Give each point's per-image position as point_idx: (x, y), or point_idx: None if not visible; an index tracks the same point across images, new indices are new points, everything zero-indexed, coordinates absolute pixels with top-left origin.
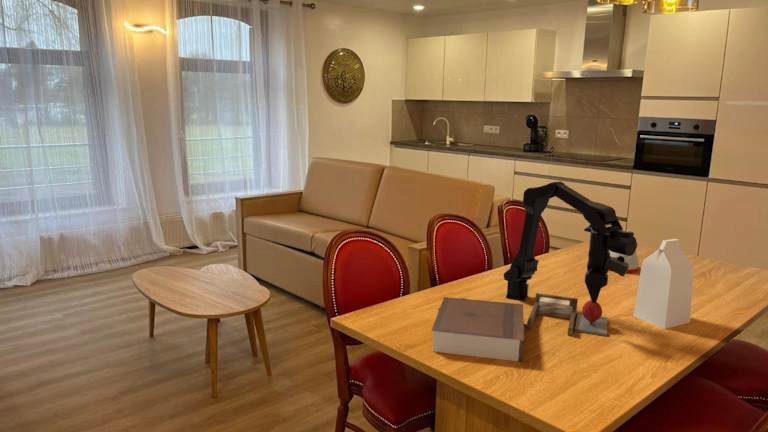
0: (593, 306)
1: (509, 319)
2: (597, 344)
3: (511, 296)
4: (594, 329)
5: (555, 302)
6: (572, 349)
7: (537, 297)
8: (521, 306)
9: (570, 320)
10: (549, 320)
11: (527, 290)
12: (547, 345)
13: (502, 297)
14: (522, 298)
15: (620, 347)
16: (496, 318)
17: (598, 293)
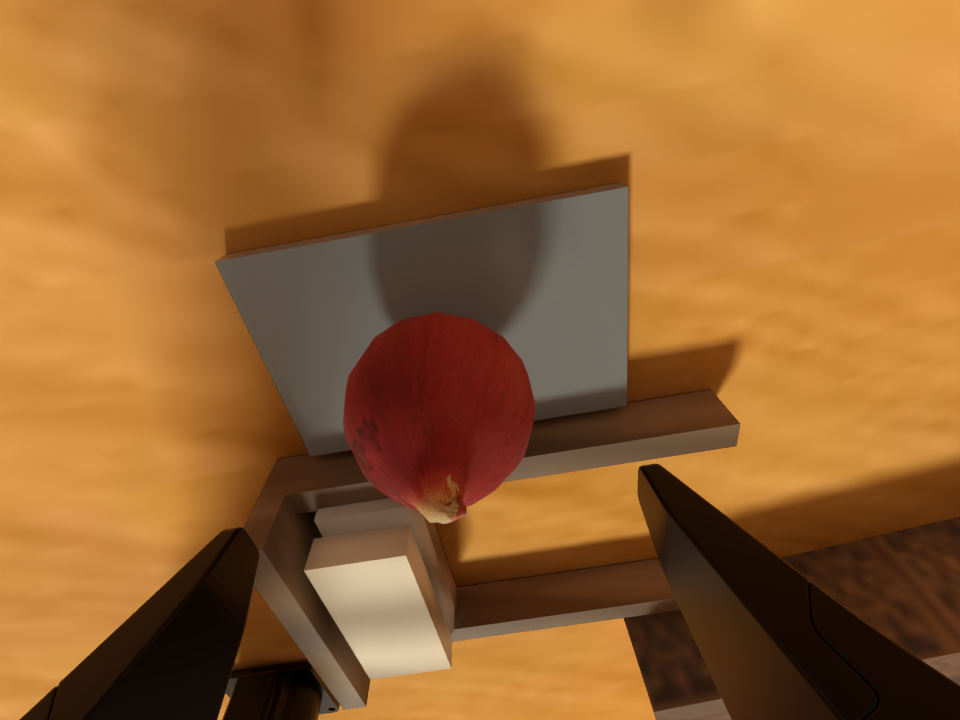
0: (506, 437)
1: None
2: (819, 213)
3: (321, 702)
4: (575, 296)
5: (415, 615)
6: (939, 337)
7: (366, 677)
8: (695, 707)
9: (587, 466)
10: (511, 529)
11: (258, 715)
12: (893, 452)
13: (341, 708)
14: (305, 674)
15: (848, 6)
16: None
17: (817, 596)
